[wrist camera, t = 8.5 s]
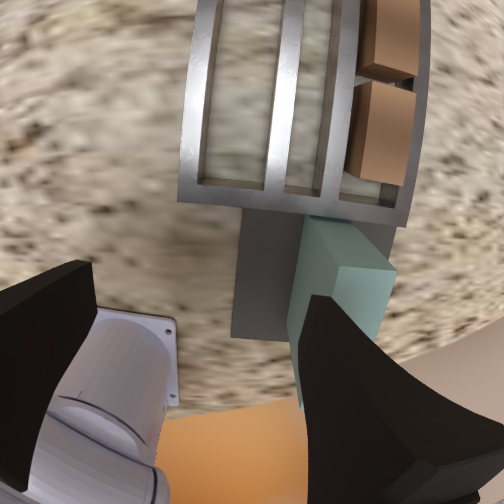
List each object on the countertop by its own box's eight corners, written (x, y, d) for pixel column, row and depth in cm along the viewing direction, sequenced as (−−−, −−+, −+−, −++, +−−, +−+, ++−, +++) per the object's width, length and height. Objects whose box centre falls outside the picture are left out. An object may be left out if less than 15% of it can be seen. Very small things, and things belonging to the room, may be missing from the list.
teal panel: (320, 324, 22) (346, 409, 15) (286, 322, 22) (299, 409, 15) (344, 215, 19) (397, 271, 12) (305, 210, 19) (339, 265, 12)
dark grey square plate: (360, 341, 23) (362, 344, 23) (230, 334, 23) (230, 337, 22) (396, 216, 20) (398, 218, 19) (243, 197, 19) (243, 198, 19)
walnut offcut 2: (375, 174, 19) (403, 186, 15) (338, 167, 19) (359, 178, 15) (386, 97, 17) (416, 93, 13) (348, 88, 17) (372, 80, 13)
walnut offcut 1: (387, 83, 16) (417, 76, 13) (350, 73, 16) (374, 62, 13) (391, 16, 15) (419, -3, 11) (355, 5, 14) (377, -18, 11)
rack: (389, 215, 20) (405, 227, 17) (186, 192, 19) (177, 201, 17) (412, -7, 14) (429, -18, 11) (214, -44, 13) (210, -63, 11)
